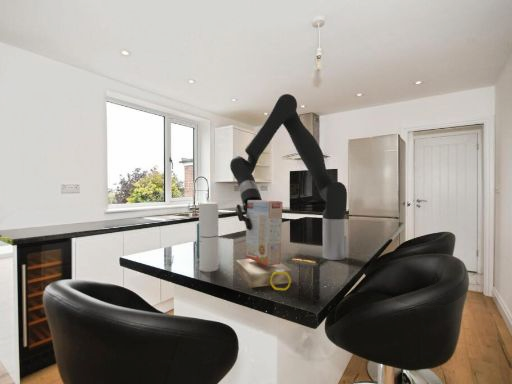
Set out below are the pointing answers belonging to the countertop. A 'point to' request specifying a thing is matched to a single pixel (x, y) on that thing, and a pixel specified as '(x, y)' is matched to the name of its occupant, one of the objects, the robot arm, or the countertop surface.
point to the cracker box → (264, 231)
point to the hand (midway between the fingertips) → (260, 228)
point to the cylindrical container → (208, 237)
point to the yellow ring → (280, 271)
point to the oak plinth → (261, 273)
